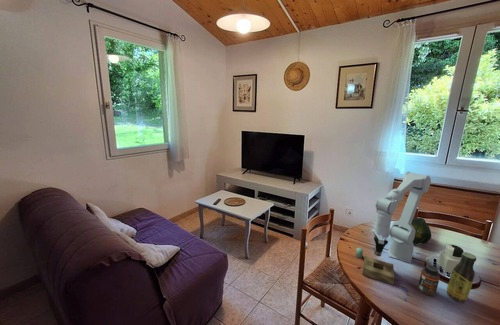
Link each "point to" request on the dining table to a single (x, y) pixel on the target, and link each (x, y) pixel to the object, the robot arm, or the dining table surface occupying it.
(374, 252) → the long pin
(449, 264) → the medicine bottle
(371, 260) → the hole block
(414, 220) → the squash
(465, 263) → the sauce bottle
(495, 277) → the dining table surface
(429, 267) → the supplement bottle
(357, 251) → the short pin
